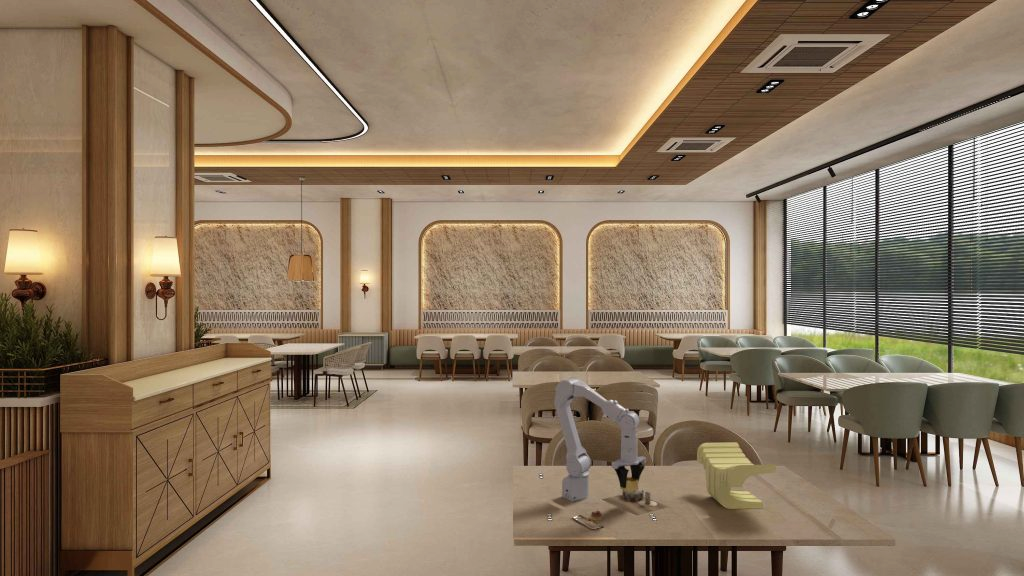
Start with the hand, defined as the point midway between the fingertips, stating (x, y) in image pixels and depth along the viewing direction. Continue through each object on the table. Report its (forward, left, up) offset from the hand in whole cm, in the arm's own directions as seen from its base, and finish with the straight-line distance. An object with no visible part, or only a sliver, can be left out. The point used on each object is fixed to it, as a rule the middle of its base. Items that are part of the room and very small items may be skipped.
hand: (629, 485), depth 210 cm
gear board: (+4, +1, -8) cm, 9 cm away
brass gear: (0, 0, -1) cm, 1 cm away
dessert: (-17, -3, -9) cm, 20 cm away
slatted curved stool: (+37, -15, -8) cm, 41 cm away
